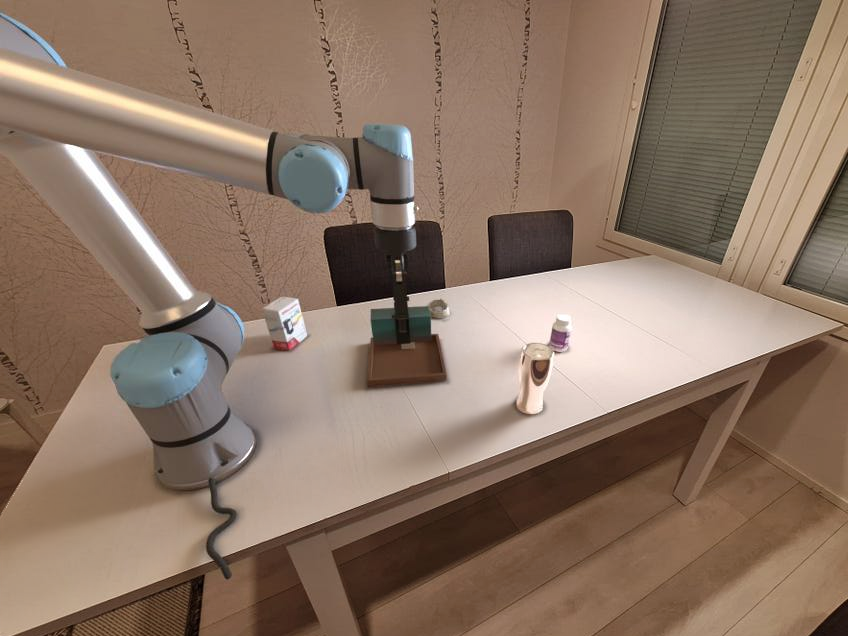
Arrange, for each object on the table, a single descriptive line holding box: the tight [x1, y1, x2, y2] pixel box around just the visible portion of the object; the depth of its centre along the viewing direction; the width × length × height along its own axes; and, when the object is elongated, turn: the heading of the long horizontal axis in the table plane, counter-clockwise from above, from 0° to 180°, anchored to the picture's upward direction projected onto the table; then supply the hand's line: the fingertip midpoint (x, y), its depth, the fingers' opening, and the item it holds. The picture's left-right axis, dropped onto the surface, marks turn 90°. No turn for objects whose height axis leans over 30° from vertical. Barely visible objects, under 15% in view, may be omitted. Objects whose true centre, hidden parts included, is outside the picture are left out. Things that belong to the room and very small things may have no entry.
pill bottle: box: [548, 314, 573, 353], centre depth 104 cm, size 5×5×10 cm
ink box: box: [261, 296, 308, 352], centre depth 99 cm, size 9×5×12 cm, turn 168°
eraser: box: [369, 305, 432, 345], centre depth 78 cm, size 5×12×6 cm, turn 103°
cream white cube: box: [401, 342, 415, 349], centre depth 101 cm, size 4×4×4 cm
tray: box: [366, 333, 448, 388], centre depth 96 cm, size 20×19×2 cm
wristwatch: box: [426, 298, 451, 319], centre depth 118 cm, size 9×6×5 cm
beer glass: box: [515, 342, 555, 415], centre depth 81 cm, size 7×7×15 cm
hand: (402, 336), depth 80 cm, fingers closed on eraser, 5 cm apart
